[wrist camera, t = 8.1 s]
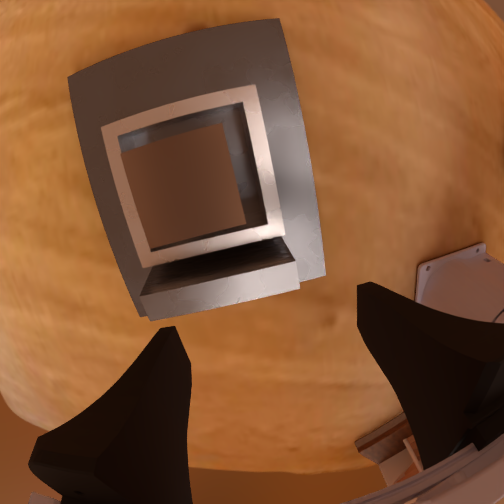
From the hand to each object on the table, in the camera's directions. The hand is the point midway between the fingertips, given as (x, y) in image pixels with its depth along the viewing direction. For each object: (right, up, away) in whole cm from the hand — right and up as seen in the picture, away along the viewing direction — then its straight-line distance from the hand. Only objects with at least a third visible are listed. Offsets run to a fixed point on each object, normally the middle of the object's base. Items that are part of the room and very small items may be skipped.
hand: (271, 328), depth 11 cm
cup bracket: (-4, +8, +7) cm, 12 cm away
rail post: (-4, +8, +6) cm, 11 cm away
